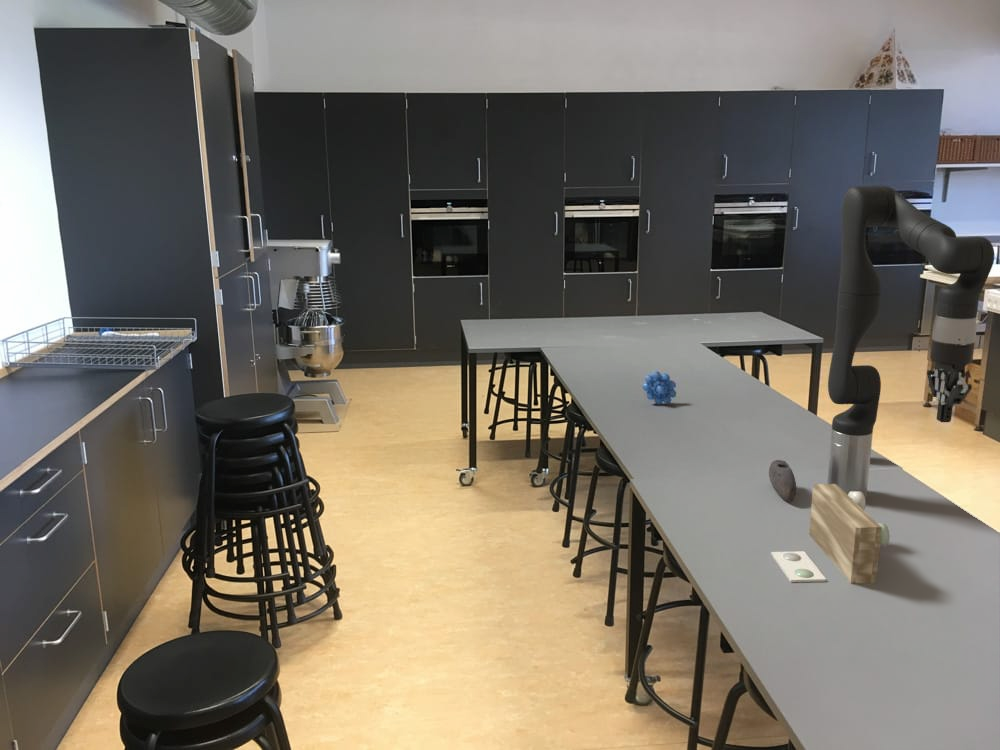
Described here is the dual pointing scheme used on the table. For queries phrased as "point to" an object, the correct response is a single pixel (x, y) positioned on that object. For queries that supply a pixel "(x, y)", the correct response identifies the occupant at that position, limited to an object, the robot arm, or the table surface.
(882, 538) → the button sage
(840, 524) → the light wood rectangular block
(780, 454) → the table surface
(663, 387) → the blue bumpy cluster
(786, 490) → the perforated stone tool
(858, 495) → the button white
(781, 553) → the pattern card
